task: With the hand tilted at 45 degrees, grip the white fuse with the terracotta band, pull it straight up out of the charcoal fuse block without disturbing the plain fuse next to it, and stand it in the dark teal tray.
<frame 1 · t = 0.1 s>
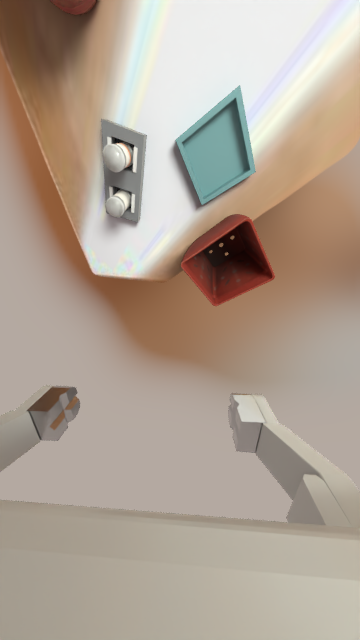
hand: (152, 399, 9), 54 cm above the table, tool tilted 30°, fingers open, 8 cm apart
marked fuse: (126, 154, 41), resting in fuse block
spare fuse: (125, 197, 48), resting in fuse block
fuse block: (125, 177, 44), on the table
tray: (216, 155, 40), on the table
plant pot: (221, 243, 56), on the table
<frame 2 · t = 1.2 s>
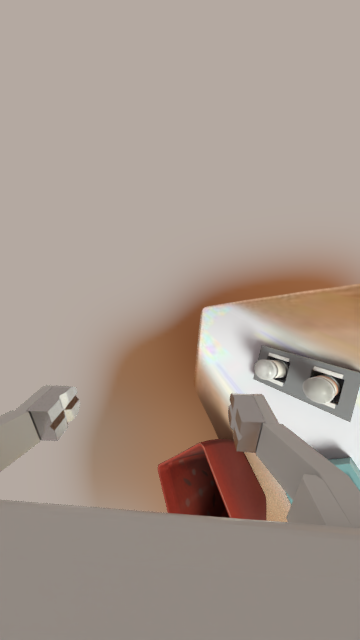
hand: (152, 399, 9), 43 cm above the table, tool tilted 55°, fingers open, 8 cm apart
marked fuse: (326, 384, 35), resting in fuse block
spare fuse: (280, 368, 42), resting in fuse block
fuse block: (301, 376, 39), on the table
tray: (337, 507, 31), on the table
plant pot: (234, 473, 46), on the table
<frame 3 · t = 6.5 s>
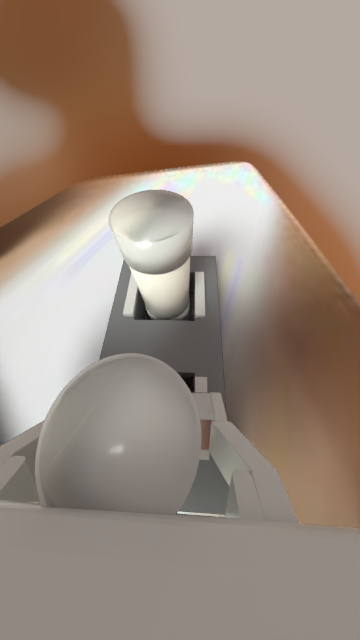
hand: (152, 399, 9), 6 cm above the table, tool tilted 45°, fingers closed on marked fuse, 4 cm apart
marked fuse: (161, 409, 13), resting in fuse block, touching gripper
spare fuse: (169, 310, 17), resting in fuse block
fuse block: (166, 353, 15), on the table
when the fingers open (8 cm above the table, at t = 12.2 s): marked fuse drops 1 cm, resting on tray.
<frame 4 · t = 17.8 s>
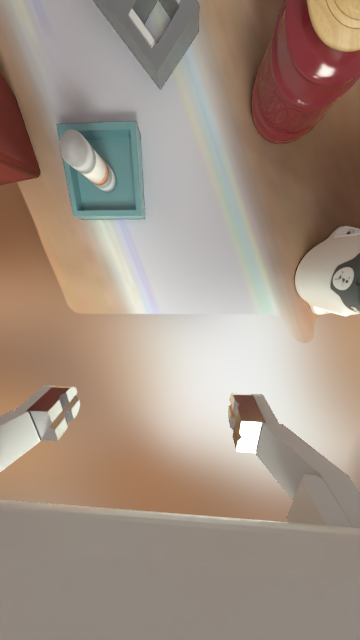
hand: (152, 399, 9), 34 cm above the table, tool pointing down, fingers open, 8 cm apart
canister: (287, 98, 29), on the table
marked fuse: (106, 180, 33), point 1 cm above the table, touching tray
fuse block: (137, 4, 26), on the table
tray: (109, 180, 34), on the table
plant pot: (2, 145, 33), on the table
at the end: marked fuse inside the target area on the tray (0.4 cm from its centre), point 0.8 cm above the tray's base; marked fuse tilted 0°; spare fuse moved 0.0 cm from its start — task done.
